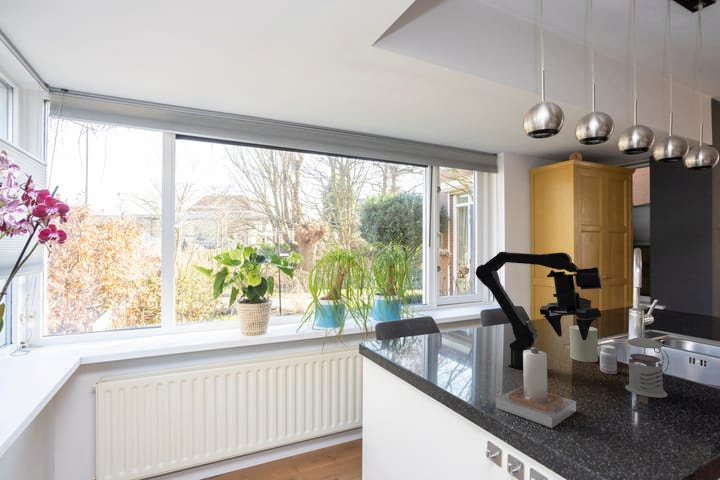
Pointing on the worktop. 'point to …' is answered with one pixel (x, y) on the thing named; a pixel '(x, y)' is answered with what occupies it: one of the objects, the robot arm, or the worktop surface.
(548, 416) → the press bed
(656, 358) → the french press
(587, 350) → the can
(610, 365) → the pill bottle
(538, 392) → the white bottle
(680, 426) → the worktop surface
